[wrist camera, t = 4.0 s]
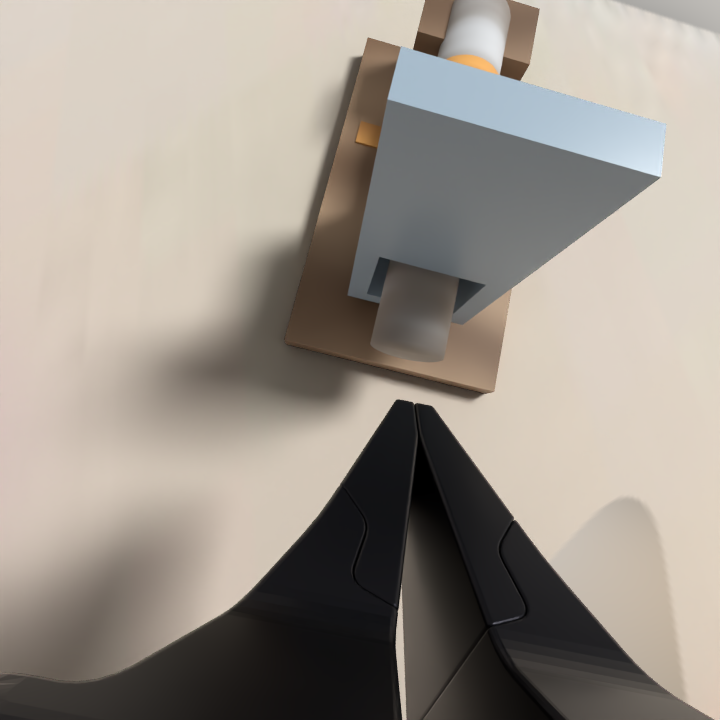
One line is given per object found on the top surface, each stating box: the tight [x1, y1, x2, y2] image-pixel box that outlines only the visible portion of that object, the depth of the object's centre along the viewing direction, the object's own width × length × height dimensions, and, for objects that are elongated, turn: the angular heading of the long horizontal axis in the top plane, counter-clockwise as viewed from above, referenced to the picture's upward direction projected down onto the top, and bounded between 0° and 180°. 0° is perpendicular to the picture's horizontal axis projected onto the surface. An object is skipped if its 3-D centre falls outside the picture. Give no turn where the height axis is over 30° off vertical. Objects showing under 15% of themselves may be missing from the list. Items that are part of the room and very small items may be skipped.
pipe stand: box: [284, 0, 539, 394], centre depth 18 cm, size 17×10×6 cm, turn 167°
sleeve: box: [348, 46, 666, 325], centre depth 13 cm, size 3×5×11 cm, turn 77°
